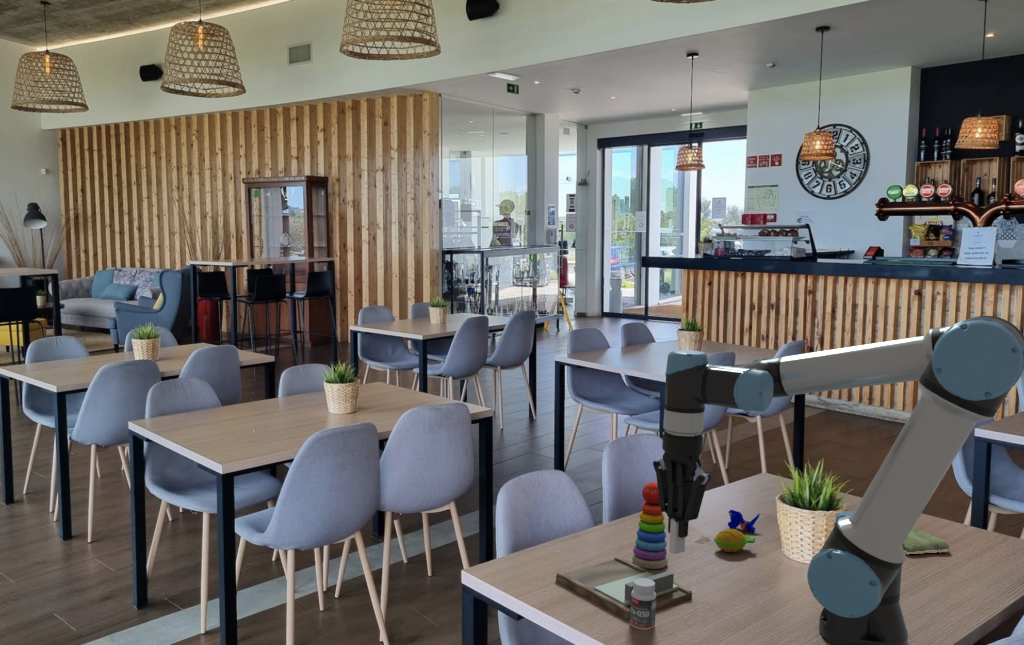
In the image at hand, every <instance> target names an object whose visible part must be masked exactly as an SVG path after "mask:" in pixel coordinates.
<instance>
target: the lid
mask: <svg viewBox="0 0 1024 645" xmlns="http://www.w3.org/2000/svg"><path fill="white" fill-rule="evenodd" d="M656 574H657V575H653V574H651V573H649V572H644V573H641V574H637V575H634V576H631V577H627V578H624V579H620V580H617V581H614V582H610V583H607V584H604V585H600V586H597V587H594V590H596V591H598V592H600V593H601V594H603V595H605V596H607V597H609V598H611V599H613V600H615V601H617V602H618V603H620V604H622V605H624V606H627V605H630V604H631V592H632V590H634V589H633V587H634V580H636V579H639V578H647V579H650V580H653V581H654V582H655V591H654V592H655V593H656V596H658V595H661V594H664V593H667V592H671V591H674V590H677V589H678V586H676V585H674V584H673V582H674V577H675V576H674V575H675V574H674V573H673V572H671V571H669V570H667V571H664V572H661V573H656Z"/></svg>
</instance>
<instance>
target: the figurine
mask: <svg viewBox="0 0 1024 645" xmlns="http://www.w3.org/2000/svg"><path fill="white" fill-rule="evenodd" d="M728 515H729V516H730V517H729V518H730V521H728V522H727V526H728V527H729V528H728V529H736V530H737V528H738V527H739V526H740V528H741V529H742V531H743V532H746V531H750V532H749V533H752V532H753V533H752V534H754V533H756V527H754V525H755V523H756V522H757V521H758V519H759V517H760V512H759V513H758V514H757V515H756V516H755V517H754V518H752V519H751V520H750V521H749V520H745V519H744V516H743V514H742V513H741V512H740V511H737V510H734V509H730V510H728Z"/></svg>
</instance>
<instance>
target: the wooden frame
mask: <svg viewBox="0 0 1024 645" xmlns="http://www.w3.org/2000/svg"><path fill="white" fill-rule="evenodd" d="M644 572H649V573H651V574H653V575H657V574H658V573H654V572H652V570H651V571H650V570H649V569H646V568H642V567H640V566H638V565H636V564H634V562H631V561H629V560H627V559H625V558H622V557H620V556H618V555H617V556H614V559H611V560H607V561H604V562H601V563H595V564H593V565H589V566H585V567H582V568H579V569H574V570H570V571H568V572H562V571H559V572H556V575H555V582H558V583H559V584H561V585H563V586H565V587H566V588H569V589H570V590H572V591H574V592H575V593H577V594H579V595H581V596H583V597H585V598H587V599H588V600H590V601H592V602H594V603H596V604H598V605H599V606H601V607H603V608H605V609H607V610H608V611H610V612H613V613H614V614H616V615H618V616H620V617H621V618H623V619H625V620H627V621H630V608H631V604H630V605H627V606H624V605H622V604H620V603H618V602H617V601H615V600H613V599H611V598H609V597H607V596H605V595H603V594H601V593H600V592H598V591H596V590H594V587H597V586H600V585H604V584H607V583H610V582H614V581H617V580H620V579H624V578H627V577H631V576H634V575H637V574H641V573H644ZM673 584H674V585H676V586H678V589H677V590H674V591H671V592H667V593H664V594H661V595H658V596H656V611H658V610H662V609H664V608H667V607H670V606H674V605H676V604H680V603H682V602H685V601H688V600H691V599H693V592H692V590H691V589H689V588H687V587H686V586H682V585H681V584H678V583H677V582H674V581H673Z"/></svg>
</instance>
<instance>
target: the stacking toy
mask: <svg viewBox="0 0 1024 645" xmlns="http://www.w3.org/2000/svg"><path fill="white" fill-rule="evenodd" d="M641 494H642V495H641V496H642V499H643V500H644V502H643V503H642V504H641V512H640V513H639V519H640V520H639V521H638V528H637V531H636V535H637V537H636V538H635V545H634V546H633V549H632V552H633V554H632V557H631V558H632V563H633V564H635V565H638V566H640V567H642V568H644V569H646V570H658V569H663V568H665V567H666V566H667V565H668V562H669V559H668V556H667V554H668V551H667V548H666V547H667V546H668V545H667V544H668V543H667V540H666V538H667V533H666V531H665V530H666V524H665V522H664V521H665V515H664V514H663V512H662V511H661V509H660V501H659V492H658V484H657V481H656V482H655V481H651V482H648V483H646V484H645V485H644V486H643V488H642V491H641Z"/></svg>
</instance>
